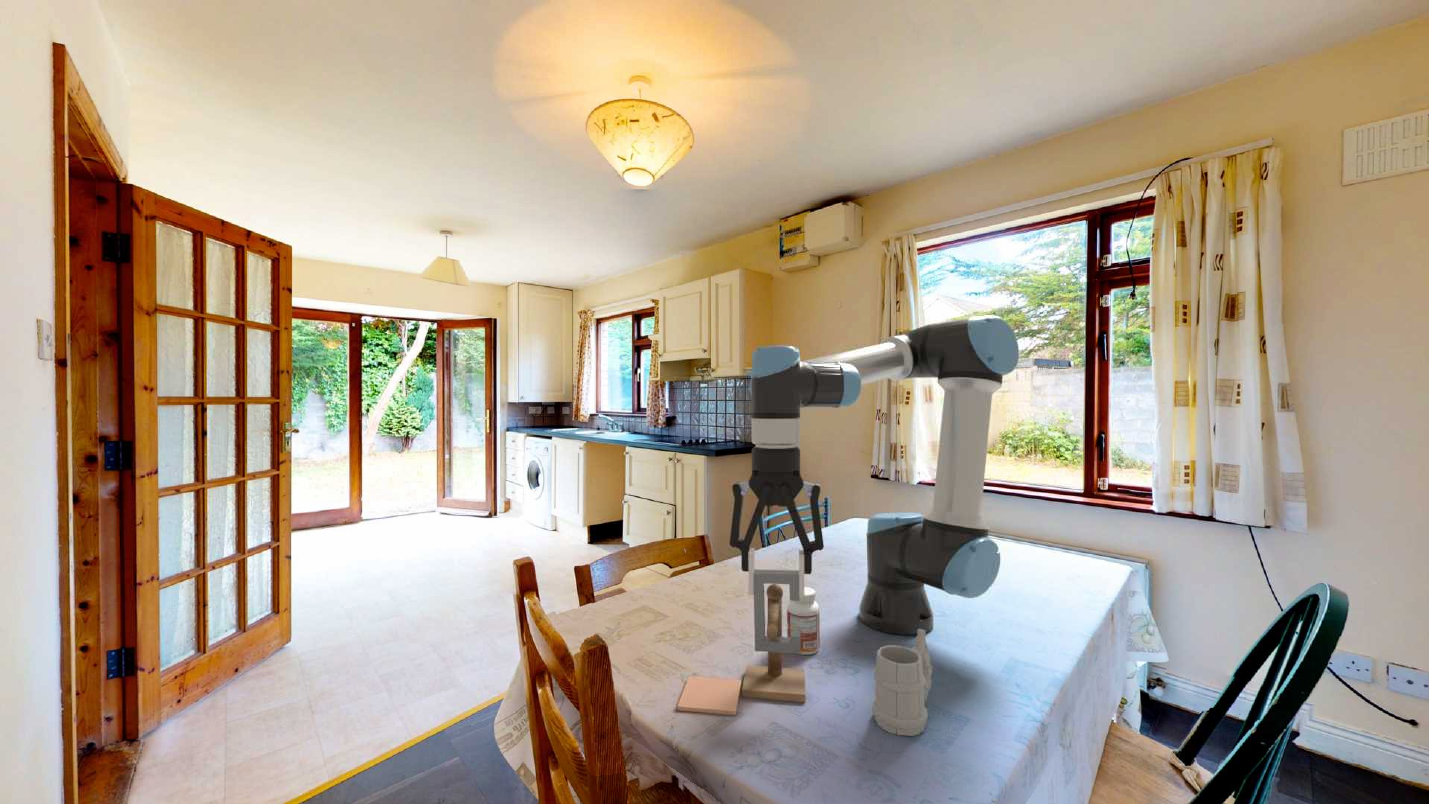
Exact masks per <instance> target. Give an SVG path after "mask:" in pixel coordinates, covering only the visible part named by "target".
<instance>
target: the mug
mask: <svg viewBox="0 0 1429 804" xmlns="http://www.w3.org/2000/svg"><path fill="white" fill-rule="evenodd" d="M917 633H918V634H917V635H916V637H915V638H914V645H913V647H912V648H909V647H906V646H902V645H895V644H894V645H893V644H891V645H890V644H888V645H884V646H881V647H880V648H879V649H878V650H877V651H876V662H875V663H876V664H875V665H876V666H875V667H874V669H873V676H874V680H875V689H874V691H875V692H874V699H873V700H872V703H871V704H872V711H873V714H874V720H875V721H876V724H877V725H878V726H879V727H880V728H881V729H882V730H884V731H886V732H888V733H890V734H892V735H897V736H907V737H913V736H918V735H920V734H921V733H923V732H924V731H925V727H926V724H927V722H928V717H929V715H928V710H927V708H926V706H925V701H927V698H928V694H929V691H931V688H932V687H931V685H932V678H931V676H932V674H933V666H932V664H931V661H930V659H931V656H930V654H929V648H928V644H927V641H926V633H927V632H926V631H925V630H922V629H918V631H917Z"/></svg>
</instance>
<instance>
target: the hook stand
mask: <svg viewBox="0 0 1429 804" xmlns="http://www.w3.org/2000/svg"><path fill="white" fill-rule="evenodd" d="M766 596H767V624H766V625H767V626H766V627H767V628H766V631H765V635H766V636H767V637H768V638H769V639H775V638H776V637H783V604H782V603H783V596H784V591H783V588H782V586H780V584H769V586H768V587H767V589H766ZM805 671H806V670H805V668H793V667H792V668H789V667H783V653H782V652H767V666H765V665H764V666H763V665H752V664H751V665H750V664H746V667H745V672H744V678H743V682H742V687H741V698H745V699H761V700H769V701H770V700H773V701H784V702H796V703H797V702H798V703H806V700H807V698H806V695H807V694H806V672H805Z"/></svg>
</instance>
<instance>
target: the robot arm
mask: <svg viewBox="0 0 1429 804" xmlns="http://www.w3.org/2000/svg"><path fill="white" fill-rule="evenodd" d="M1018 343H1019V342H1018V339H1017V336H1016V334H1015V332H1014V331H1013V329H1012V327H1011V325H1010V324H1009V323H1008V322H1007V320H1005V319H1003V318H1001V317H999V316H996V315H984V316H982V315H980V316H979V315H974V316H971V317H968V318H962V319H955V320H949V321H944V322H938V323H937V322H936V323H930V324H926V325H923V326H920V327H917V328H914V329H911V330H909V331H904V332H902V333H900V334H896V335H892V336H888V337H886V338H884V339H883V340H882V341H880V343H877V344H873V345H868V346H865V347H859V348H856V349H851V350H847V351H842V352H837V353H834V354H833V353H832V354H828V355H824V356H819V357H816V358H811V359H806V360H801V359H802V358H801V356H800V353H801V352H800V350H799V348H797V347H796V346H791V345H767V346H760V347H757V348H755V349H754V350H753V352H752V354H751V364H750V365H751V367H750V368H751V369H750V370H751V371H750V381H749V386H748V387H749V393H750V397H751V420H750V421H751V443H752V444H753V445H755V446H753V447H752V448H751V475H750V477H749V479H748V480H746V481H741V482H739V481H736V482H734V483H733V485H732V486H731V490H732V493H733V498H734V502H733V509H732V511H733V512H732V519H731V528H730V537H729V546H730V547H731V548H736V549H738V550H740V552H741V553H740V556H741V559H740V560H741V562H740V563H741V564H740V565H741V566H740V567H741V571H742V572H748V596H754V569H755V568H756V567H755V566H756V565H755V563H756V562H755V561H756V560H755V559H756V557H755V555H756V553H755V552H756V551H755V547H751V545H752V541H753V538H754V536H755V533H756V531H757V528H758V526H759V523H760V521H761V518H762V515H763V513H764V510H765V507H774V506H777V507H783V508H787V511H788V513H789V516H790V518H791V521H792V524H793V526H794V529H795V531H796V534H797V536H798V539H799V542H800V545H801V547H802V549H799V550H798V571H799V597H802V598H804V587H805V575H811V574H812V571H813V569H812V568H813V566H812V565H813V564H812V563H813V562H812V561H813V554H814V552H816V551H822V550H824V547H825V545H824V539H823V537H824V536H823V530H822V523H821V522H822V521H821V514H820V506H819V498H820V495H821V486H820V484H819V483H817V482H815V483H811V482H807V481H804V479H803V478H802V475H801V449H800V448H799V447H798V446H797V445H799V444H800V443H801V408H832V409H834V408H835V409H839V408H844V407H850V406H852V405H853V404H854V403H856V401H857V400H858V399H859V397H860V396H861V391H862V386H864V385H869V384H872V383H877V382H879V381H883V380H887V379H889V380H891V381H902V380H905V379H913V378H915V379H916V378H917V379H918V378H921V379H925V378H927V379H928V378H930V379H931V378H932V379H934V378H935V379H936V378H937V381H936V382H937V384H938V385H939V386H940V387H941V388H942V390H943V391H944V396H943V403H942V413H941V414H942V415H941V422H940V432H939V433H940V435H939V442H938V443H939V444H938V450H937V451H938V452H937V463H936V471H935V473H936V474H935V481H934V482H935V483H934V493H933V500H932V501H933V502H932V509H930V511H929V512H928V513H926V514H924V515H923V514H922V513H918V512H886V513H877V514H874V515H872V516H870V518H868V521H867V530H866V558H867V559H866V560H867V561H866V562H867V583H866V584H865V587H864V588H865V589H864V592H863V595H862V598H861V599H860V600H861V601H860V604H859V609H858V610H859V616H858V617H859V619H860V621H861V622H862V623H863V624H864V625H866V626H868V627H870V628H872V629H874V630H877V631H880V632H883V633H887V634H892V635H898V636H899V635H901V636H917V635H918V633H917V631H918V629H922V630H925V631H926V633H928V632H930V631H931V630H932V629H933V628H934V613H933V610H932V607H931V604H930V602H929V598H928V595H927V593H926V592H927V591H926V588H925V585H927V586H929V587H931V588H934V589H939V590H940V591H944V592H945V593H947V594H948V595H952V596H953V595H955V596H959V597H963V598H966V599H974V598H978V597H981V596H982V595H984V594H985V593H986V592H988V590H989V588H991V587H992V585H993V584H994V583H995V580H996V579H997V576H998V573H999V571H1000V567H1001V552H1000V551H999V546H998V544H997V543H996V542H995V541H993V540H992V539H991V538H989V529H990V527H989V526H988V524H986V522H985V521H984V520H983V518H982V509H983V508H982V506H983V496H984V495H983V494H984V486H985V473H986V466H987V465H986V463H987V454H988V453H987V452H988V443H989V434H990V433H989V430H990V421H991V409H992V399H993V395H994V393H995V392H997V391H999V389H1001V388H1002V386H1003V379H1004V378H1003V376H1006V375H1009V374H1010V373H1012V372H1013V371H1014V370H1015V369H1016V366H1017V365H1018V363H1019V358H1020V357H1019V356H1020V353H1019V351H1020V350H1019V344H1018ZM748 489H750V490H751V491H752V493H754V495H755V497H756V498H757V501H758V502H757V503H756V507H755V509H754V511H753V513H752V516H751V519H750V522H749V524H748V528H747V530H746V534H745V535H744V538H740V531H741V525H742V517H743V515H742V514H743V506H744V498H745V496H746V495H747V493H748ZM802 489H803V491H805V496H806V497H807V498H809V505H810V506H809V507H810V513H811V521H812V529H813V538H814V540H812V541H810V539H809V536H808V533H807V530H806V528H805V525H804V523H803V521H802V517H801V515H800V512H799V510H798V507H797V504H796V501H795V499H796V497H797V496H798V495H799V493H800V492H801V491H802Z"/></svg>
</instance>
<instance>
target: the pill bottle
mask: <svg viewBox="0 0 1429 804" xmlns="http://www.w3.org/2000/svg"><path fill="white" fill-rule="evenodd" d="M816 596H817V595H816V590H815V589H814V588H811V587H808V586H804V598H802V597H800V601H790V600H789V601H788V603H787V605H786V606H787V607H786V627H787V629H786V631H787V632H786V633H787V634H786V637H791V631H800V639H801V653H796V654H797V655H802V656H803V655H805V656H809V655H814V654H816V653H817V652H818V651H819V650H820V644H821V642H820V640H821V639H820V634H821V633H820V605H819V604H818V602H816V598H817V597H816Z"/></svg>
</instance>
